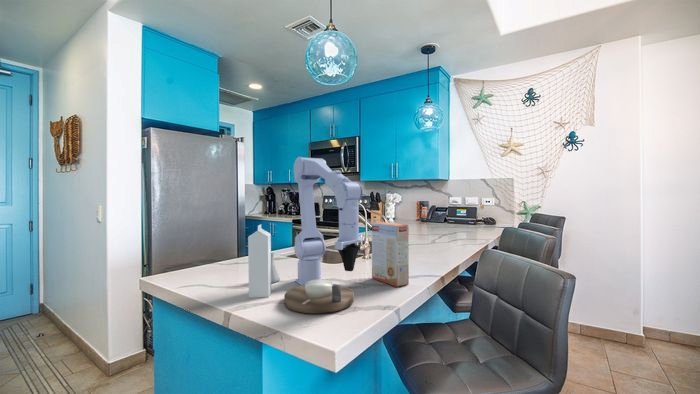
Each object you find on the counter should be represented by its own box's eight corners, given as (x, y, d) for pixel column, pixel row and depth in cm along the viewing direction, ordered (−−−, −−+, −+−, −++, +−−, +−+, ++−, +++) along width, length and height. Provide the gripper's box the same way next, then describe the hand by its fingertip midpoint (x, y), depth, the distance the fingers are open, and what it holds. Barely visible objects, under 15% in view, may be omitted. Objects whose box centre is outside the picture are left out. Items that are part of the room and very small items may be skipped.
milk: (248, 298, 97) (247, 226, 96) (252, 291, 103) (251, 224, 102) (269, 297, 97) (267, 225, 97) (271, 291, 103) (270, 223, 103)
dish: (312, 288, 98) (312, 278, 98) (336, 290, 95) (336, 280, 95) (300, 296, 90) (300, 285, 90) (326, 299, 88) (326, 288, 88)
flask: (274, 284, 111) (274, 256, 111) (255, 283, 112) (255, 255, 112) (283, 278, 118) (282, 252, 118) (265, 278, 120) (264, 251, 119)
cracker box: (409, 284, 109) (409, 224, 109) (396, 287, 106) (396, 225, 106) (384, 275, 121) (383, 221, 121) (371, 278, 118) (371, 222, 117)
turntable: (305, 287, 106) (305, 269, 106) (362, 293, 99) (362, 274, 99) (270, 307, 87) (269, 286, 87) (337, 317, 80) (337, 293, 80)
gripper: (351, 226, 83) (352, 278, 83) (370, 221, 97) (370, 266, 97) (327, 225, 86) (328, 275, 86) (349, 221, 99) (349, 264, 100)
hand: (349, 270), depth 92 cm, fingers closed
